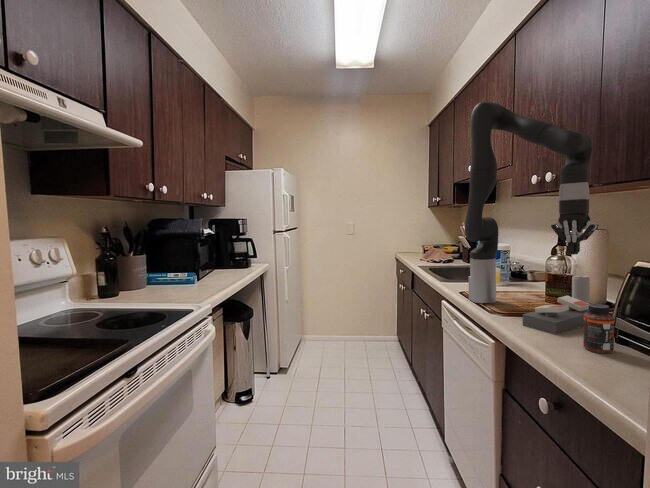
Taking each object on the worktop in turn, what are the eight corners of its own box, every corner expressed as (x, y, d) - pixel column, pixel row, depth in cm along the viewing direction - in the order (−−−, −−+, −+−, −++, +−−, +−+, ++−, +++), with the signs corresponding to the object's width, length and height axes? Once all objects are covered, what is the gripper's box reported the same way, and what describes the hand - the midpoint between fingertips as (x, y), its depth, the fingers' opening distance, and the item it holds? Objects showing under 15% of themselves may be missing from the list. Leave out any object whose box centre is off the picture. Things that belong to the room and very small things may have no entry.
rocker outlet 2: (556, 301, 109) (557, 297, 109) (566, 299, 111) (567, 295, 111) (580, 311, 103) (581, 306, 103) (589, 308, 105) (590, 304, 105)
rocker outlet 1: (535, 312, 105) (534, 307, 105) (545, 309, 107) (544, 304, 107) (558, 312, 98) (557, 307, 99) (569, 309, 100) (567, 304, 101)
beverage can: (573, 311, 116) (573, 277, 115) (570, 308, 120) (570, 274, 119) (590, 312, 113) (591, 277, 112) (587, 309, 118) (588, 274, 117)
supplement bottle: (616, 356, 81) (616, 309, 80) (584, 352, 84) (585, 307, 83) (611, 347, 86) (612, 303, 85) (582, 343, 89) (582, 301, 88)
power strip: (522, 325, 105) (522, 311, 105) (566, 313, 114) (566, 300, 114) (555, 334, 96) (555, 319, 96) (600, 321, 105) (600, 307, 105)
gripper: (544, 200, 109) (544, 253, 110) (590, 197, 97) (590, 257, 98) (559, 199, 112) (559, 251, 113) (605, 196, 100) (605, 254, 101)
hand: (573, 254), depth 106 cm, fingers closed
